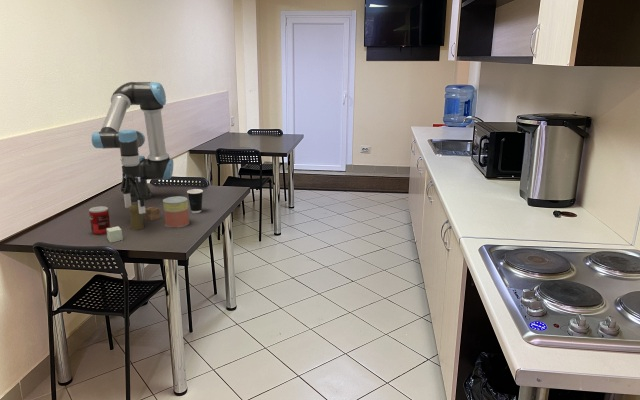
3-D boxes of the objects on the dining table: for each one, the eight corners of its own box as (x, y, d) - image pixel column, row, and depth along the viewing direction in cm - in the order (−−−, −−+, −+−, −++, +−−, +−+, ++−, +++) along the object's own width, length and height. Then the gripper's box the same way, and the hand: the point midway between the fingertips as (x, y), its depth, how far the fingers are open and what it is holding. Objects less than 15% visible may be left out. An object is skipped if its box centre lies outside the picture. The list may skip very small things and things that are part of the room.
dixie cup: (189, 214, 241) (187, 193, 238) (187, 210, 248) (186, 189, 245) (205, 213, 244) (203, 192, 241) (203, 208, 251) (202, 188, 248)
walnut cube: (145, 218, 234) (144, 209, 233) (153, 216, 239) (152, 206, 237) (152, 220, 232) (151, 210, 231) (160, 217, 236) (159, 208, 235)
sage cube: (107, 239, 207) (106, 228, 206) (119, 237, 210) (118, 226, 209) (110, 242, 203) (109, 231, 202) (122, 240, 206) (121, 229, 205)
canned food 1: (96, 228, 220) (93, 206, 216) (113, 229, 219) (111, 206, 216) (88, 234, 212) (85, 211, 209) (106, 234, 212) (103, 211, 209)
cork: (127, 228, 220) (124, 206, 217) (136, 224, 225) (134, 202, 222) (137, 230, 218) (135, 207, 215) (146, 226, 223) (144, 204, 220)
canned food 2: (193, 221, 232) (191, 197, 228) (182, 228, 221) (180, 203, 218) (172, 219, 234) (170, 195, 231) (160, 226, 223) (157, 202, 220)
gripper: (110, 162, 219) (115, 206, 224) (135, 169, 202) (140, 217, 208) (126, 160, 224) (130, 203, 230) (152, 167, 208) (156, 214, 213)
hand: (135, 210), depth 219 cm, fingers open, 13 cm apart
